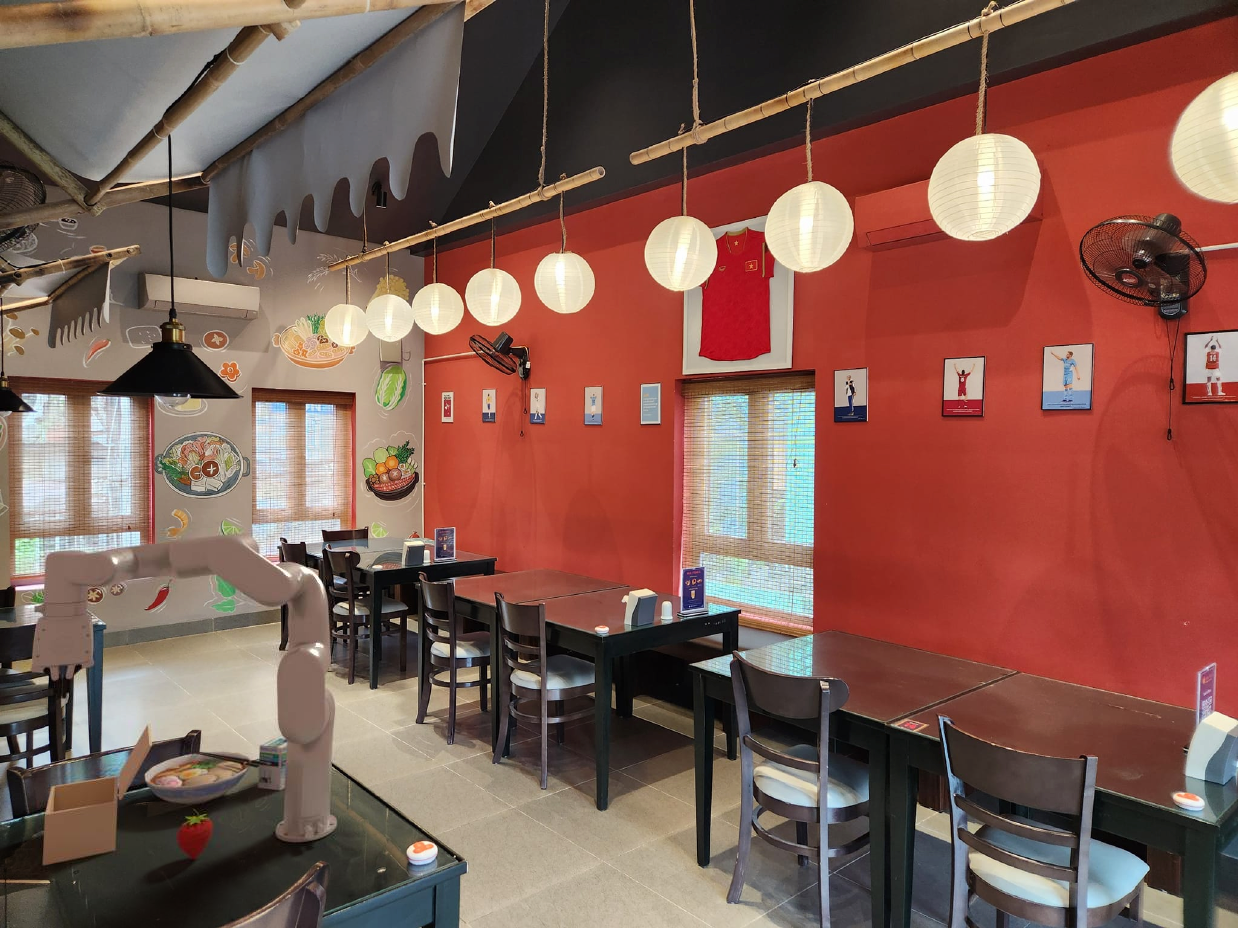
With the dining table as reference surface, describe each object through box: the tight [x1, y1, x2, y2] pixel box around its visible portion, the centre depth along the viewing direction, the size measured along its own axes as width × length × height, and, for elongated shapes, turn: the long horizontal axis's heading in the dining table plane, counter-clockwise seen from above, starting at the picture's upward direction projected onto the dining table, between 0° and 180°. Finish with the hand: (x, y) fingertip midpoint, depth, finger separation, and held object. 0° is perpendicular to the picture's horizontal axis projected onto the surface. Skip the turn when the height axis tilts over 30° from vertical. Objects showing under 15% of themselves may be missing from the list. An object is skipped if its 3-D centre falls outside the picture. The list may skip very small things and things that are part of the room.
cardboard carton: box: [42, 775, 119, 866], centre depth 159 cm, size 16×12×10 cm
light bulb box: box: [257, 733, 287, 791], centre depth 193 cm, size 11×7×11 cm, turn 168°
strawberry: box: [176, 808, 214, 860], centre depth 153 cm, size 6×8×10 cm
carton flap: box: [118, 724, 153, 801], centre depth 164 cm, size 16×12×1 cm
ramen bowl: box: [144, 749, 265, 805], centre depth 182 cm, size 25×23×8 cm
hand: (61, 697), depth 157 cm, fingers closed
